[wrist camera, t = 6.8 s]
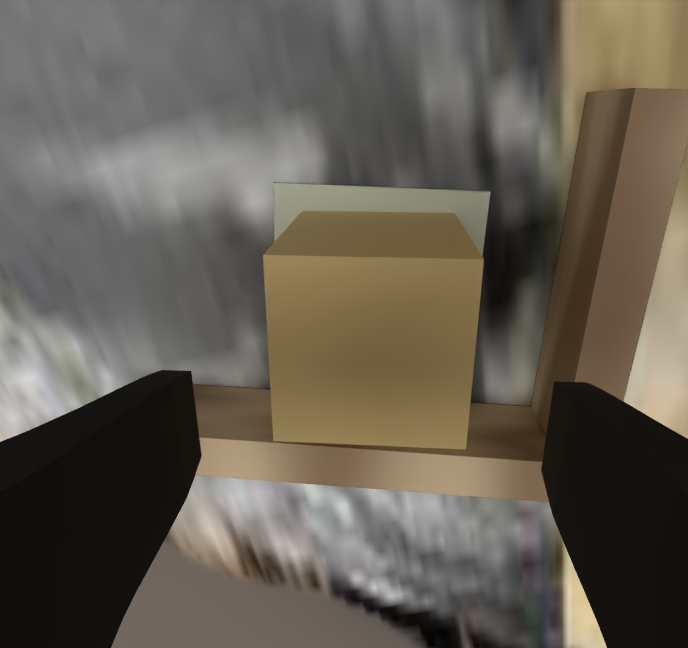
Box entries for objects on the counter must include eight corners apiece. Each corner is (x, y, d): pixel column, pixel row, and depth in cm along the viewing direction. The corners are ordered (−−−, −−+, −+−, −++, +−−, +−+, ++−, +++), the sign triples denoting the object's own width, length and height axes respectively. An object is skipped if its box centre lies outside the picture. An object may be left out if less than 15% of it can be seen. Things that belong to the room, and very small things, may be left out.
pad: (489, 190, 18) (490, 192, 17) (465, 384, 20) (465, 386, 20) (274, 182, 18) (273, 183, 18) (277, 372, 21) (276, 374, 20)
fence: (638, 93, 16) (700, 89, 13) (564, 443, 21) (597, 505, 18) (101, 77, 17) (34, 70, 14) (142, 414, 22) (98, 467, 19)
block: (454, 212, 18) (483, 259, 12) (444, 353, 20) (465, 449, 14) (302, 210, 18) (263, 254, 13) (306, 348, 20) (273, 441, 14)
